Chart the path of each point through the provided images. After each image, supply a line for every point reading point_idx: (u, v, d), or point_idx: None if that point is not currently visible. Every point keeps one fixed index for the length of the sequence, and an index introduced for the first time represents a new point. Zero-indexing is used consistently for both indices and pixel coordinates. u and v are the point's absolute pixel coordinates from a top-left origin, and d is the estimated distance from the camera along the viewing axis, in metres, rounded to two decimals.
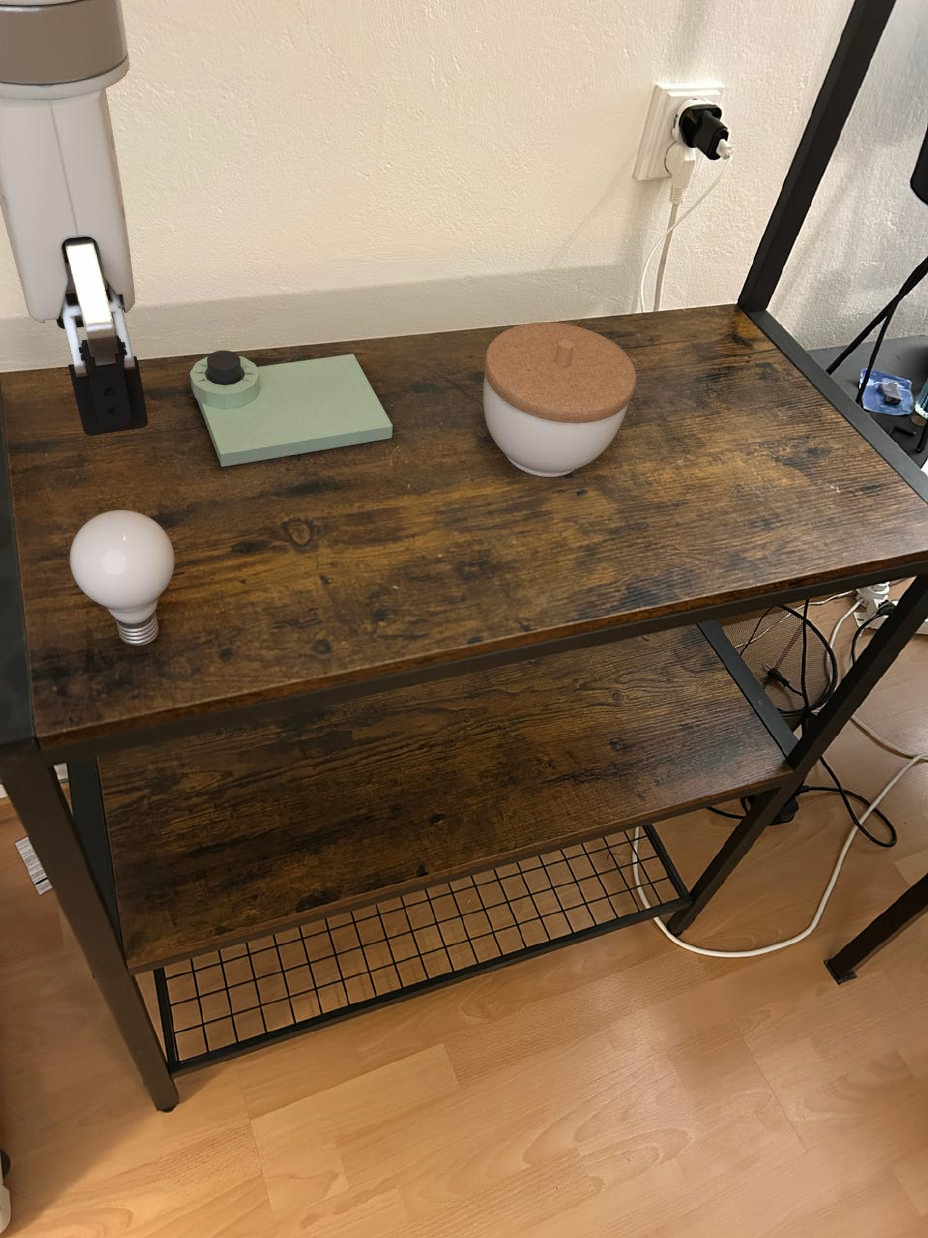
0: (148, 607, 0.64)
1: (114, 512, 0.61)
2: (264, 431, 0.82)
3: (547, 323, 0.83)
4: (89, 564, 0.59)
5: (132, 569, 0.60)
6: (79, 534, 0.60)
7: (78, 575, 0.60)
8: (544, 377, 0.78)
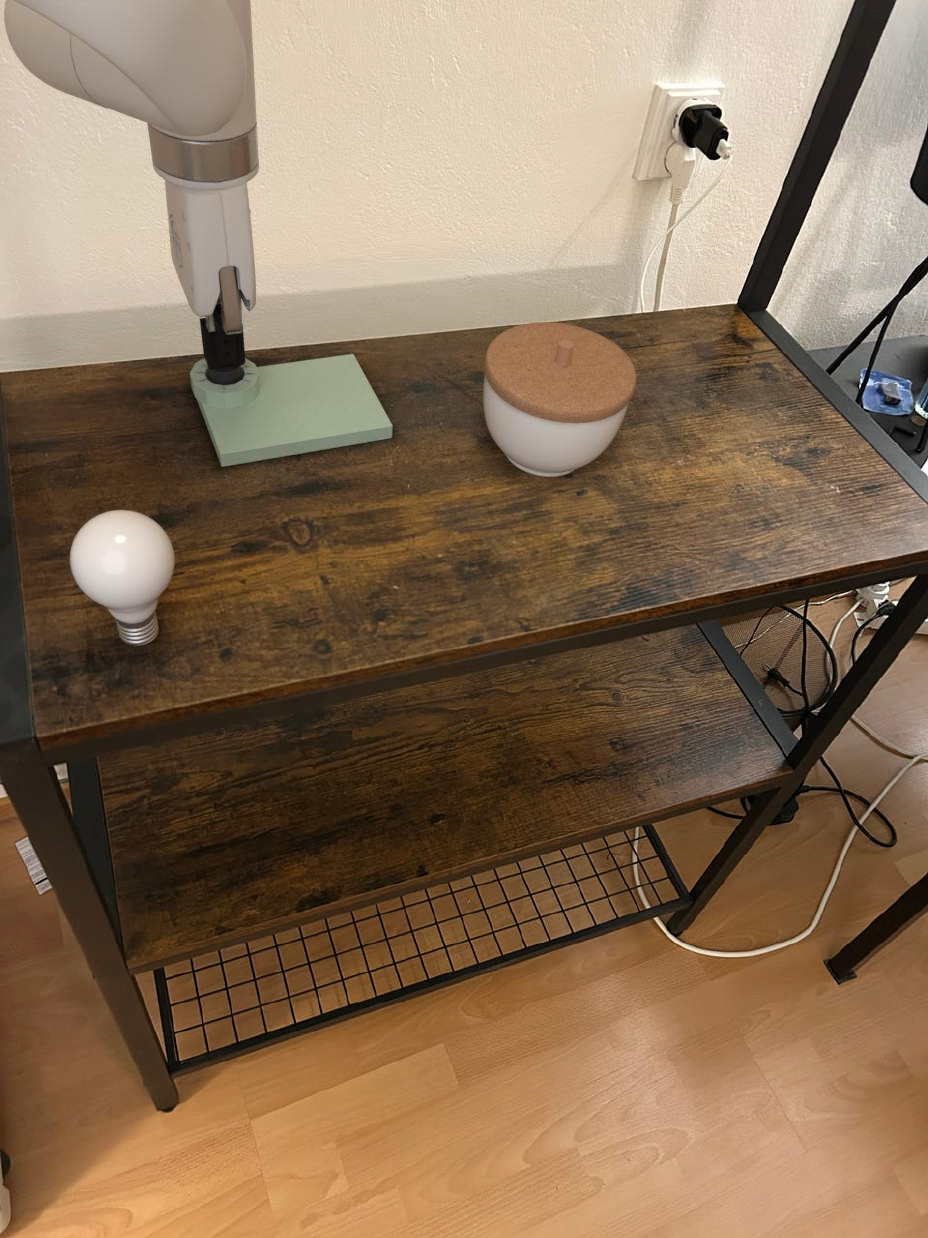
0: (148, 607, 0.64)
1: (114, 512, 0.61)
2: (264, 431, 0.82)
3: (547, 323, 0.83)
4: (90, 564, 0.59)
5: (132, 569, 0.60)
6: (79, 534, 0.60)
7: (78, 575, 0.60)
8: (544, 377, 0.78)
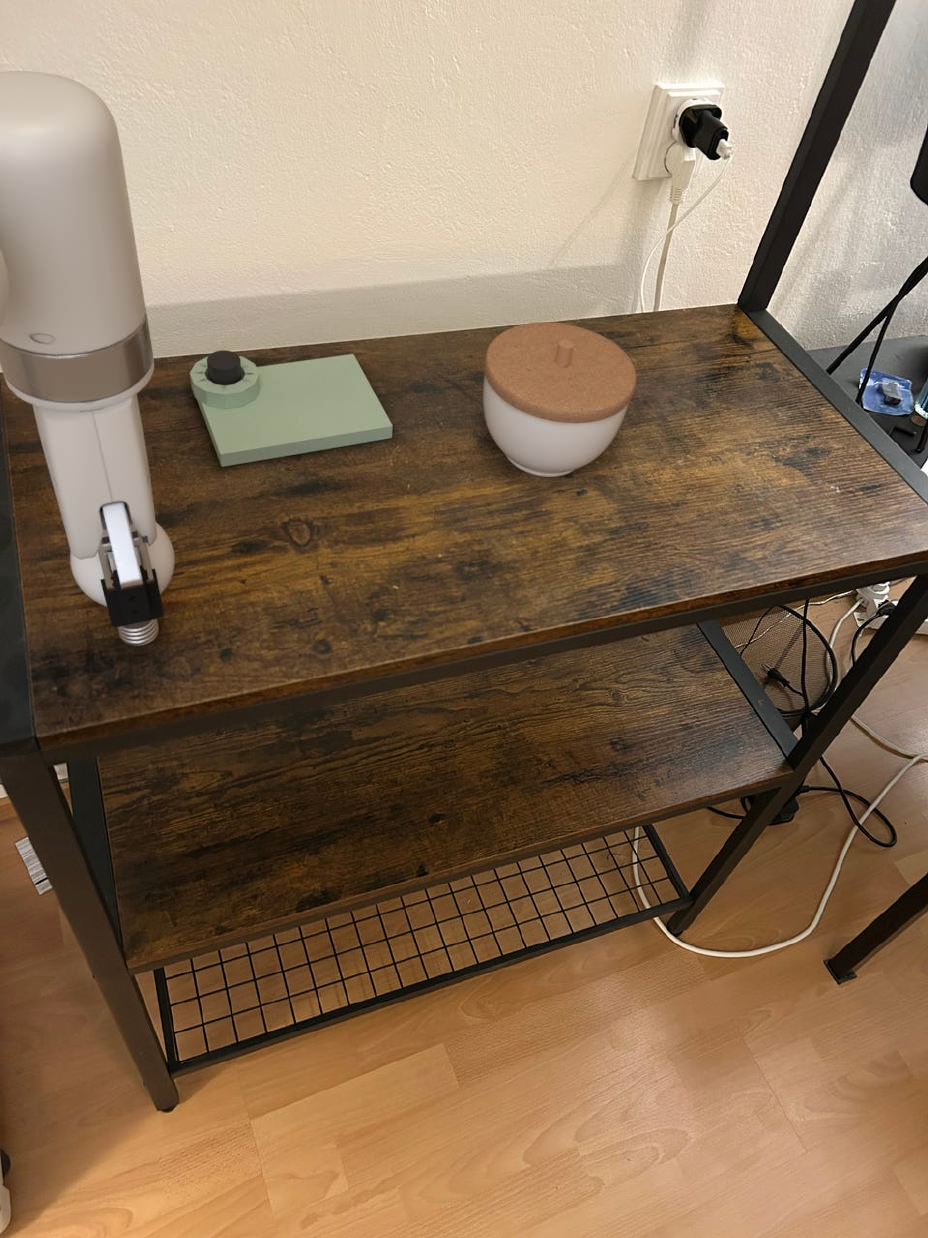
0: None
1: None
2: (264, 431, 0.82)
3: (547, 323, 0.83)
4: (89, 564, 0.59)
5: None
6: None
7: (78, 574, 0.60)
8: (544, 377, 0.78)
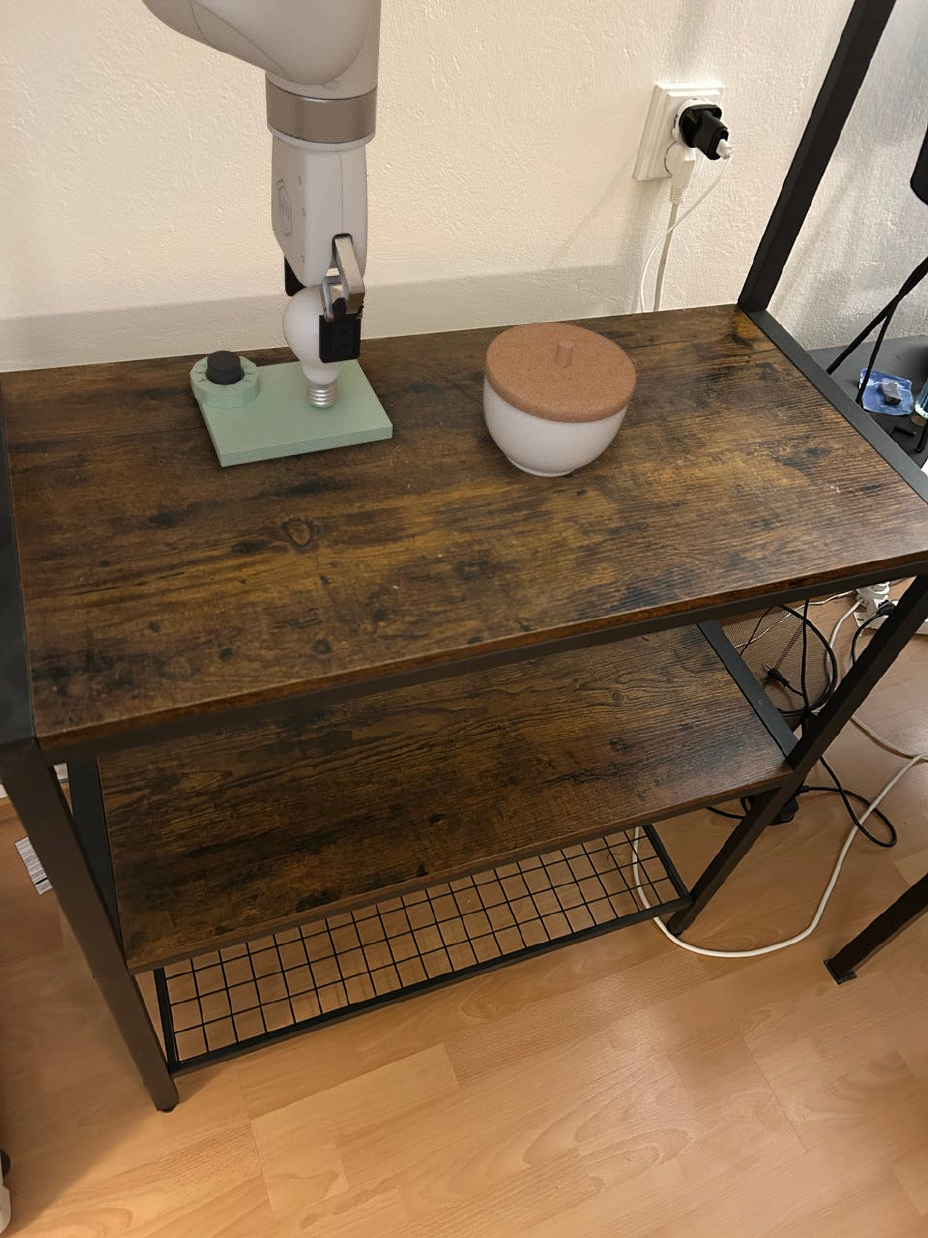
0: (337, 368, 0.81)
1: None
2: (264, 431, 0.82)
3: (547, 323, 0.83)
4: (303, 320, 0.76)
5: None
6: (293, 299, 0.77)
7: (292, 330, 0.77)
8: (544, 377, 0.78)
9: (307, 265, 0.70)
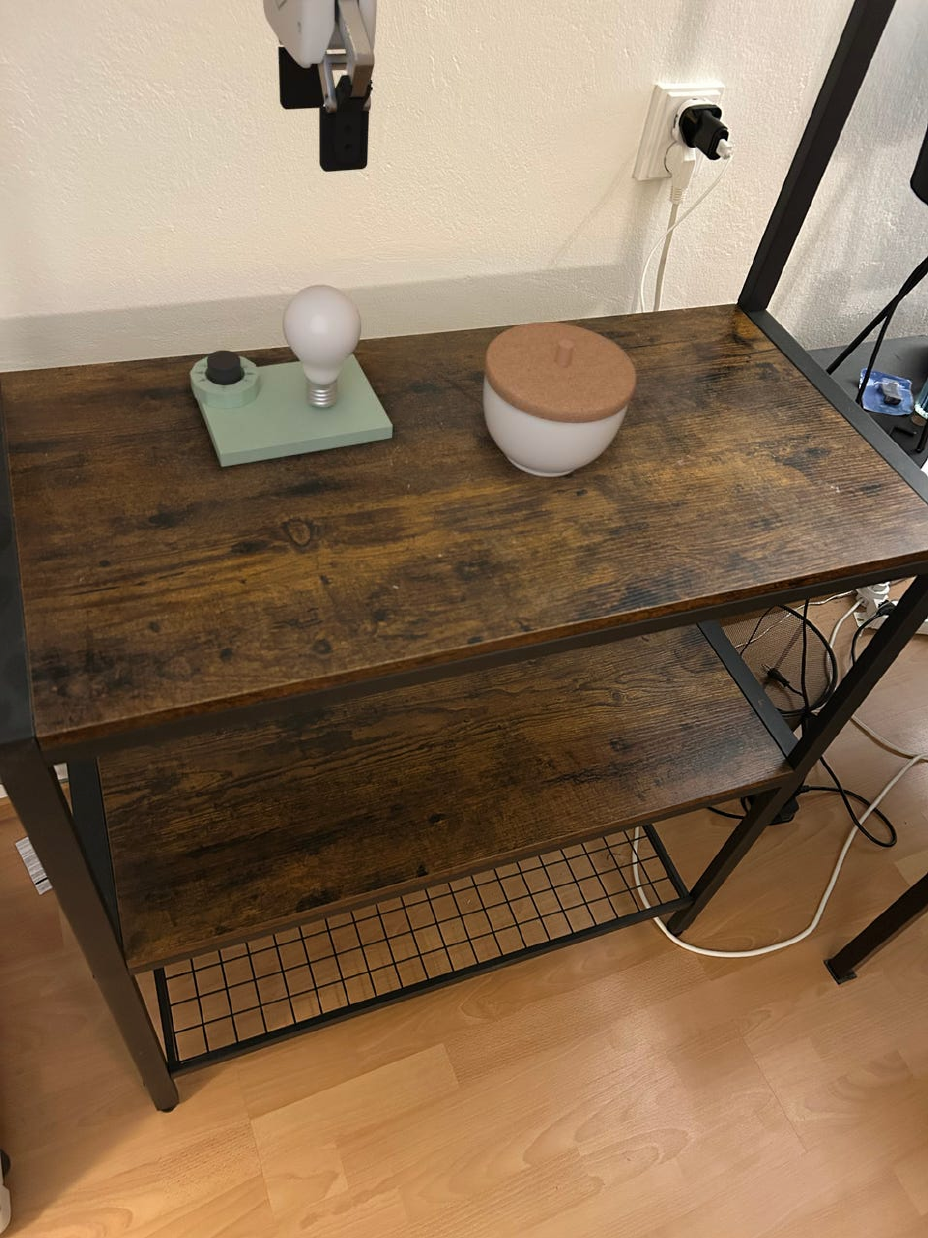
0: (337, 368, 0.81)
1: None
2: (264, 431, 0.82)
3: (547, 323, 0.83)
4: (304, 320, 0.76)
5: (336, 325, 0.77)
6: (293, 299, 0.77)
7: (292, 330, 0.77)
8: (544, 377, 0.78)
9: (305, 34, 0.58)
